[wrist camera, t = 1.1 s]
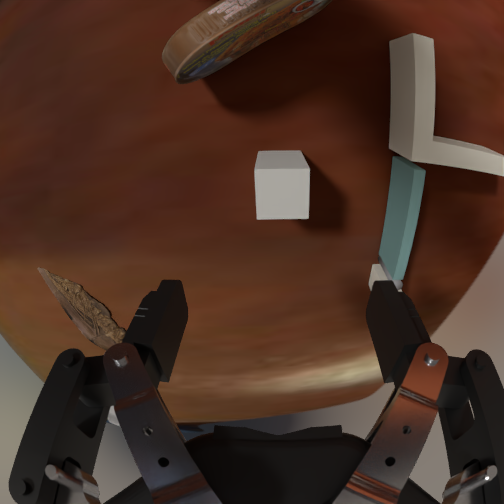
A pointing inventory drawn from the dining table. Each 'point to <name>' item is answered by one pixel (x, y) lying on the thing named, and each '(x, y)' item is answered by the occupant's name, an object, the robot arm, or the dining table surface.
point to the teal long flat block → (401, 218)
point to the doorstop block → (282, 185)
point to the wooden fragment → (85, 311)
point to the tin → (230, 33)
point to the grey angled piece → (424, 118)
